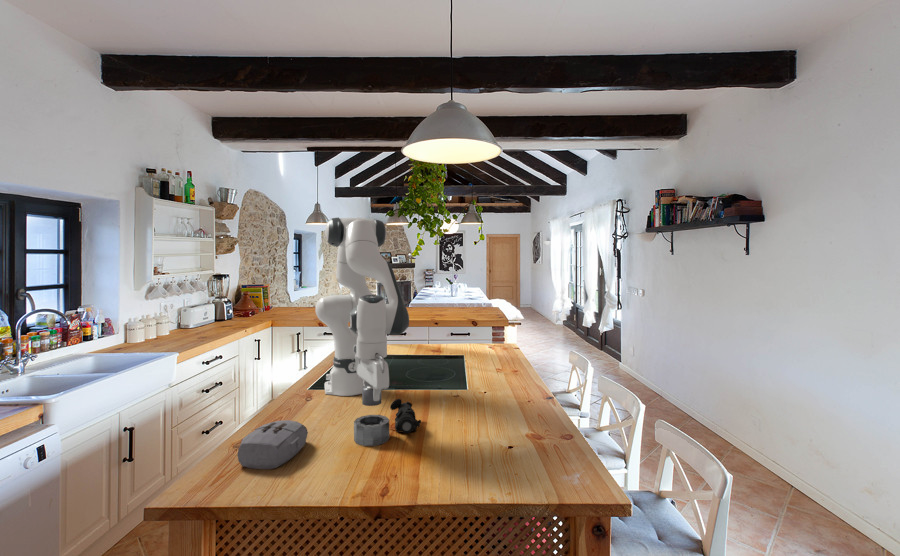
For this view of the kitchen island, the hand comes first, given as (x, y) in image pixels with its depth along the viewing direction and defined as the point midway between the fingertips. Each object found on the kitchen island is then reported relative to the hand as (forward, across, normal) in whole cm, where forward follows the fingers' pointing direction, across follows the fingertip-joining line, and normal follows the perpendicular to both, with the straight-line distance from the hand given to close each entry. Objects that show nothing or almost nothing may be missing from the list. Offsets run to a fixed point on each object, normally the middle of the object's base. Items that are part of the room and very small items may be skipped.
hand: (372, 397), depth 131 cm
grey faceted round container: (+13, 0, 0) cm, 13 cm away
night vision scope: (+13, +3, -12) cm, 18 cm away
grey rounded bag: (+13, +3, +26) cm, 30 cm away
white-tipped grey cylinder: (+2, 0, 0) cm, 2 cm away
